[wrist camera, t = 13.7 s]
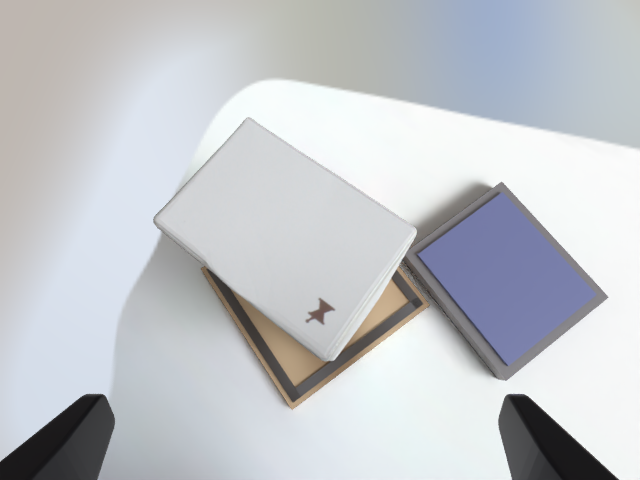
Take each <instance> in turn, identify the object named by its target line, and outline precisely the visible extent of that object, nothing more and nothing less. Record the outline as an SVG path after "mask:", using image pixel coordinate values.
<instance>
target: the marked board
mask: <svg viewBox="0 0 640 480" xmlns="http://www.w3.org/2000/svg"><path fill="white" fill-rule="evenodd" d="M201 270H202V272H203V273H204V275H205V276H206V278H207V279H208V281H209V282H210V284H211V286H212V287H213V289H214V290H215V292H216V293H217V295H218V296H219V298H220V299H221V301H222V303H223V304H224V306H225V307H226V309H227V310H228V312H229V313H230V315H231V316H232V318H233V320H234V321H235V323H236V324H237V326H238V327H239V329H240V330H241V332H242V334H243V335H244V337H245V338H246V340H247V341H248V343H249V344H250V346H251V347H252V349H253V351H254V352H255V354H256V355H257V357H258V358H259V360H260V361H261V363H262V365H263V366H264V368H265V369H266V371H267V372H268V374H269V375H270V377H271V378H272V380H273V382H274V383H275V385H276V386H277V388H278V389H279V391H280V392H281V394H282V395H283V397H284V399H285V400H286V402H287V403H288V405H289V406H290V408H291V409H292V410H293V409H294V408H295V407H297V406H298V405H299V404H300V403H302V402H303V401H304V400H306V399H307V398H308V397H310V396H311V395H312V394H314V393H315V392H316V391H318V390H319V389H320V388H322V387H323V386H324V385H326V384H327V383H328V382H329V381H331V380H332V379H333V378H335V377H336V376H337V375H339V374H340V373H341V372H343V371H344V370H345V369H347V368H348V367H349V366H351V365H352V364H353V363H355V362H356V361H357V360H358V359H360V358H361V357H362V356H364V355H365V354H366V353H368V352H369V351H370V350H372V349H373V348H374V347H376V346H377V345H378V344H380V343H381V342H382V341H384V340H385V339H386V338H387V337H389V336H390V335H391V334H393V333H394V332H395V331H397V330H398V329H399V328H401V327H402V326H403V325H405V324H406V323H407V322H409V321H410V320H411V319H413V318H414V317H415V316H416V315H418V314H419V313H420V312H422V311H423V310H424V309H426V308H427V307H428V306H430V305H429V303H428V302H427V301H426V300H425V298H424V297H423V296H422V294H421V293H420V292H419V291H418V289H417V288H416V287H415V286H414V284H413V283H412V282H411V281H410V279H409V278H408V277H407V276H406V274H405V273H404V272H403V270H402V269H401V268H400V267H399V266H398V267H397V269H396V271H395V273H394V274H393V276H392V278H391V279H390V281H389V283H388V284H387V286H386V288H385V290H384V291H383V293H382V295H381V296H380V298H379V299H378V301H377V302H376V304H375V305H374V307H373V308H372V310H371V311H370V312H369V314H368V315H367V317H366V318H365V320H364V321H363V322H362V324H361V325H360V327H359V328H358V330H357V331H356V332H355V334H354V335H353V336H352V338H351V339H350V340H349V342H348V343H347V344H346V346H345V347H344V348H343V350H342V351H341V352H340V354H339V355H338V356H337V358H336V359H335V360H334V361H322V360H320V359H319V358H318V357H316V356H315V355H313V354H312V353H311V352H310V351H308V350H307V349H306V348H305V347H303V346H302V345H301V344H299V343H298V342H297V341H296V340H294V339H293V338H292V337H291V336H289V335H288V334H287V333H286V332H284V331H283V330H282V329H281V328H279V327H278V326H277V325H276V324H274V323H273V322H272V321H271V320H269V319H268V318H267V317H266V316H264V315H263V314H262V313H261V312H259V311H258V310H257V309H256V308H255V307H253V306H252V305H251V304H250V303H249V302H247V301H246V300H245V299H244V298H243V297H241V296H239V295H238V294H237V293H235V292H234V291H233V290H232V289H230V288H229V287H228V286H227V285H226V284H225V283H224V282H223V281H222V280H220V279H219V278H218V277H217V276H216V275H215V274H214V273H213V272H212V271H210V270H209V269H208V268H207V267H206V266H204V267H203V268H201Z"/></svg>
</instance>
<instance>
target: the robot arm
mask: <svg viewBox="0 0 640 480" xmlns="http://www.w3.org/2000/svg"><path fill="white" fill-rule="evenodd" d="M114 425H115V418H114V414H113V412H112V410H111V407H110V405H109V403H108V400H107V398H106V396H105V395H103V394H86V395H84V396H82V397H80V398H79V399H78V400H77V401H75V402H74V403H73V404H72V405H70V406H69V407H68V408H67V409H65V410H64V411H63V412H62V413H60V414H59V415H58V416H57V417H56V418H54V419H53V420H52V421H51V422H49V423H48V424H47V425H45V426H44V427H43V428H42V429H40V430H39V431H38V432H37V433H36V434H34V435H33V436H32V437H30V438H29V439H28V440H27V441H26V442H24V443H23V444H22V445H21V446H19V447H18V448H17V449H16V450H14V451H13V452H12V453H10V454H9V455H8V456H7V457H5V458H4V459H3V460H2V461H1V462H0V480H97V479H98V476H99V473H100V470H101V467H102V463H103V460H104V457H105V454H106V451H107V448H108V445H109V442H110V439H111V435H112V432H113V429H114ZM498 425H499V430H500V434H501V438H502V442H503V446H504V450H505V453H506V457H507V461H508V465H509V469H510V473H511V477H512V480H619V479H618V478H617V477H615V476H614V475H613V474H612V473H611V472H610V471H609V470H608V469H607V468H606V467H605V466H604V465H602V464H601V463H600V462H599V461H598V460H597V459H596V458H595V457H594V456H593V455H592V454H590V453H589V452H588V451H587V450H586V449H585V448H584V447H583V446H582V445H581V444H580V443H578V442H577V441H576V440H575V439H574V438H573V437H572V436H571V435H570V434H569V433H568V432H567V431H565V430H564V429H563V428H562V427H561V426H560V425H559V424H558V423H557V422H556V421H555V420H553V419H552V418H551V417H550V416H549V415H548V414H547V413H546V412H545V411H544V410H543V409H541V408H540V407H539V406H538V405H537V404H536V403H535V402H534V401H533V400H532V399H531V398H529V397H528V396H526V395H524V394H508V395H506V396H505V398H504V401H503V405H502V408H501V411H500V415H499V419H498Z"/></svg>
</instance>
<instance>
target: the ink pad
mask: <svg viewBox="0 0 640 480" xmlns="http://www.w3.org/2000/svg"><path fill="white" fill-rule="evenodd" d="M403 261H404V262H405V263H406V264H407V266H408V267H409V268H410V269H411V271H412V272H413V273H414V274H415V276H416V277H417V278H418V279H419V281H420V282H421V283H422V284H423V286H424V287H425V288H426V289H427V291H428V292H429V293H430V294H431V296H432V297H433V298H434V299H435V301H436V302H437V303H438V304H439V306H440V307H441V308H442V309H443V311H444V312H445V313H446V314H447V316H448V317H449V318H450V319H451V321H452V322H453V323H454V324H455V326H456V327H457V328H458V329H459V331H460V332H461V333H462V334H463V336H464V337H465V338H466V339H467V341H468V342H469V343H470V345H471V346H472V347H473V348H474V350H475V351H476V352H477V353H478V355H479V356H480V357H481V358H482V360H483V361H484V362H485V363H486V365H487V366H488V367H489V368H490V370H491V371H492V372H493V373H494V375H495V376H496V377H497V378H498V379H499V380H505V381H506V380H508V379H509V378H510V377H511V376H513V375H514V374H515V373H516V372H517V371H519V370H520V369H521V368H522V367H524V366H525V365H526V364H527V363H529V362H530V361H531V360H532V359H533V358H535V357H536V356H537V355H538V354H540V353H541V352H542V351H543V350H544V349H546V348H547V347H548V346H549V345H551V344H552V343H553V342H554V341H556V340H557V339H558V338H559V337H560V336H562V335H563V334H564V333H565V332H567V331H568V330H569V329H570V328H572V327H573V326H574V325H575V324H576V323H578V322H579V321H580V320H581V319H583V318H584V317H585V316H586V315H587V314H589V313H590V312H591V311H592V310H594V309H595V308H596V307H597V306H599V305H600V304H601V303H602V302H603V301H605V300H606V299H607V298H608V296H607V295H606V294H605V293H604V292H603V291H602V290H601V288H600V287H599V286H598V285H597V284H596V283H595V282H594V281H593V280H592V279H591V278H590V277H589V275H588V274H587V273H586V272H585V271H584V270H583V269H582V268H581V267H580V266H579V265H578V264H577V262H576V261H575V260H574V259H573V258H572V257H571V256H570V255H569V254H568V253H567V252H566V251H565V249H564V248H563V247H562V246H561V245H560V244H559V243H558V242H557V241H556V240H555V239H554V238H553V236H552V235H551V234H550V233H549V232H548V231H547V230H546V229H545V228H544V227H543V226H542V225H541V223H540V222H539V221H538V220H537V219H536V218H535V217H534V216H533V215H532V214H531V213H530V212H529V210H528V209H527V208H526V207H525V206H524V205H523V204H522V203H521V202H520V201H519V200H518V199H517V197H516V196H515V195H514V194H513V193H512V192H511V191H510V190H509V189H508V188H507V187H506V186H505V185H504V183H503V182H501V183H499V184H498V185H496V186H495V187H494V188H492V189H491V190H490V191H488V192H487V193H486V194H484V195H483V196H481V197H480V198H479V199H477V200H476V201H475V202H473V203H472V204H470V205H469V206H468V207H466V208H465V209H464V210H462V211H461V212H460V213H458V214H457V215H455V216H454V217H453V218H451V219H450V220H449V221H447V222H446V223H444V224H443V225H442V226H440V227H439V228H438V229H436V230H435V231H433V232H432V233H431V234H429V235H428V236H427V237H425V238H424V239H423V240H421V241H420V242H418V243H417V244H416V245H414V246H413V247H412V248H410V249H409V250H407V252H406V254H405V256H404V257H403Z"/></svg>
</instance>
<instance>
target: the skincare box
mask: <svg viewBox="0 0 640 480" xmlns="http://www.w3.org/2000/svg"><path fill="white" fill-rule="evenodd" d="M153 220H154V224H155V225H156V226H157V228H159V229H160V230H161V231H162V232H163V233H165V234H166V235H167V236H168V237H170V238H171V239H172V240H173V241H175V242H176V243H177V244H178V245H180V246H181V247H182V248H183V249H184V250H186V251H187V252H188V253H189V254H191V255H192V256H193V257H194V258H196V259H197V260H198V261H199V262H201V263H202V264H203V265H204V266H206V267H207V268H208V269H209V270H210V271H212V272H213V273H214V274H215V275H216V276H217V277H218V278H219V279H220V280H222V281H223V282H224V283H225V284H226V285H227V286H228V287H229V288H230V289H232V290H233V291H234V292H235V293H237V294H238V295H239V296H241V297H243V298H244V299H245V300H246V301H247V302H249V303H250V304H251V305H252V306H253V307H255V308H256V309H257V310H258V311H259V312H261V313H262V314H263V315H264V316H266V317H267V318H268V319H269V320H271V321H272V322H273V323H274V324H276V325H277V326H278V327H279V328H281V329H282V330H283V331H284V332H286V333H287V334H288V335H289V336H291V337H292V338H293V339H294V340H296V341H297V342H298V343H299V344H301V345H302V346H303V347H305V348H306V349H307V350H308V351H310V352H311V353H312V354H313V355H315V356H316V357H318V358H319V359H320V360H322V361H334V360H335V359H336V358H337V356H338V355H339V354H340V352H341V351H342V350H343V348H344V347H345V346H346V344H347V343H348V342H349V340H350V339H351V338H352V336H353V335H354V334H355V332H356V331H357V330H358V328H359V327H360V325H361V324H362V322H363V321H364V320H365V318H366V317H367V315H368V314H369V312H370V311H371V310H372V308H373V307H374V305H375V304H376V302H377V301H378V299H379V298H380V296H381V295H382V293H383V291H384V290H385V288H386V286H387V284H388V283H389V281H390V279H391V278H392V276H393V274H394V273H395V271H396V269H397V267H398V266H399V264H400V262H401V261H402V259H403V257H404V256H405V254H406V252H407V250H408V249H409V247H410V246H411V244H412V242H413V241H414V239H415V237H416V234H417V230H416V228H415V227H414V226H412V225H411V224H409V223H408V222H406V221H405V220H403V219H402V218H400V217H399V216H398V215H396V214H395V213H393V212H392V211H390V210H389V209H387V208H386V207H384V206H383V205H381V204H380V203H378V202H377V201H375V200H374V199H372V198H371V197H369V196H368V195H366V194H365V193H363V192H362V191H360V190H359V189H357V188H356V187H354V186H353V185H351V184H350V183H348V182H347V181H345V180H344V179H342V178H341V177H339V176H338V175H336V174H334V173H333V172H331V171H330V170H328V169H327V168H325V167H324V166H322V165H320V164H319V163H317V162H316V161H314V160H313V159H311V158H310V157H308V156H306V155H305V154H303V153H302V152H300V151H299V150H297V149H296V148H294V147H293V146H291V145H290V144H288V143H287V142H285V141H284V140H282V139H281V138H279V137H278V136H276V135H275V134H273V133H272V132H270V131H269V130H267V129H266V128H264V127H263V126H261V125H260V124H258V123H257V122H256V121H254V120H253V119H251V118H246V119H245V120H244V121H243V123H242V124H241V125H240V126H239V127H238V128H237V129H236V131H235V132H234V133H233V134H232V135H231V136H230V137H229V138H228V139H227V141H226V142H225V143H224V144H223V145H222V146H221V147H220V148H219V149H218V150H217V151H216V152H215V153H214V154H213V155H212V156H211V157H210V159H209V160H208V161H207V162H206V163H205V164H204V165H203V166H202V167H201V168H200V169H199V170H198V171H197V172H196V173H195V174H194V176H193V177H192V178H191V179H190V180H189V181H188V182H187V183H186V184H185V185H184V186H183V187H182V188H181V189H180V191H179V192H178V193H177V194H176V195H175V196H174V197H173V198H172V199H171V200H170V201H169V202H168V203H167V204H166V205H165V206H164V207H163V208H162V209H161V210H160V211H159V212H158V213H157V214H156V216H155V217H154V219H153Z"/></svg>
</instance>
